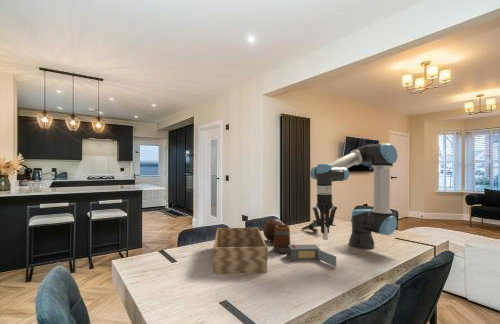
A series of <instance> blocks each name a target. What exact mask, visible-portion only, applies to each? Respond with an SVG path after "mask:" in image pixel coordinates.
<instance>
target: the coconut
mask: <svg viewBox="0 0 500 324" xmlns="http://www.w3.org/2000/svg"><path fill="white" fill-rule="evenodd" d="M282 224H284V223H283V221H281V220H280V219H275V218H272V219H269V220H268V221H266V222H265V224H264V226H263V228H262V229H263V231H262V233H263V235H264V237H265V239H266V240H267V241H269V242H272V243H274V237H275V226H276V225H282Z"/></svg>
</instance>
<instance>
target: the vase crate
mask: <svg viewBox="0 0 500 324" xmlns="http://www.w3.org/2000/svg"><path fill="white" fill-rule="evenodd" d="M212 250H213V253H212V256H213V257H212V261H213V263H212V274H214V275H216V274H217V275H218V274H219V275H220V274H223V275H224V274H254V273H255V274H257V273H259V274H261V273H268V246H267V243H266V242H265V239H264V237H263V235H262V232H261V231H260V229H259V227H217V228H216V232H215V237H214V244H213V249H212Z"/></svg>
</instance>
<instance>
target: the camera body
mask: <svg viewBox="0 0 500 324" xmlns="http://www.w3.org/2000/svg"><path fill="white" fill-rule="evenodd" d="M319 249H321V248H320V247H319V246H318V245H317V244H313V243H312V244H309V243H308V244H290V245H288V248H286V256H287V257H288V256H289V257H288V258H289V259H290V261H292V262H293V261H319V260H318V257H319Z"/></svg>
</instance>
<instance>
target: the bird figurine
mask: <svg viewBox="0 0 500 324" xmlns="http://www.w3.org/2000/svg"><path fill="white" fill-rule="evenodd" d="M319 227H320V228H321V226H319V225H317V221H316V219H315V220H314V221H313V222H311V223H309V224H308V225H306V226H303V227H301V230H302V231H304V230H310V231H312V232H313V233H314V234H317V233H318V232H319V230H318V229H317V228H319Z"/></svg>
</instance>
